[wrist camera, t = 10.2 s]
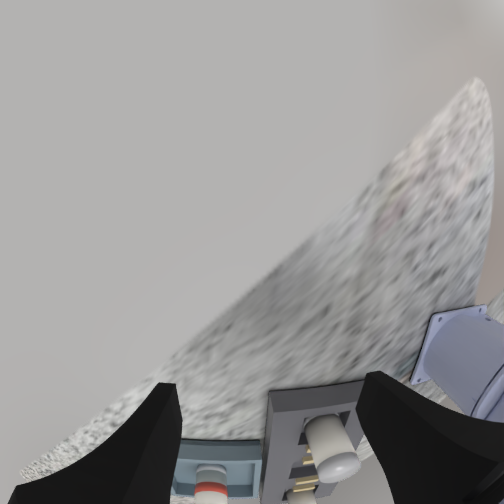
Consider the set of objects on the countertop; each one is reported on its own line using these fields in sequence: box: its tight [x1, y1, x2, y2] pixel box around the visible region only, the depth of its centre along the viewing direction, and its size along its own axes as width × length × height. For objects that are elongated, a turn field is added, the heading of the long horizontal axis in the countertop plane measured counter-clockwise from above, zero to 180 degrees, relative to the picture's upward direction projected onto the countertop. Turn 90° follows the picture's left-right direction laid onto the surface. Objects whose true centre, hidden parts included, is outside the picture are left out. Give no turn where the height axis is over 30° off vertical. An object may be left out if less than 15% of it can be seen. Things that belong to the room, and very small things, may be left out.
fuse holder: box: [259, 380, 365, 504], centre depth 21 cm, size 9×20×3 cm, turn 179°
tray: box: [171, 440, 262, 499], centre depth 21 cm, size 10×10×2 cm
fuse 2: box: [303, 413, 361, 483], centre depth 17 cm, size 3×3×6 cm
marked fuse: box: [194, 463, 228, 504], centre depth 18 cm, size 3×3×6 cm
